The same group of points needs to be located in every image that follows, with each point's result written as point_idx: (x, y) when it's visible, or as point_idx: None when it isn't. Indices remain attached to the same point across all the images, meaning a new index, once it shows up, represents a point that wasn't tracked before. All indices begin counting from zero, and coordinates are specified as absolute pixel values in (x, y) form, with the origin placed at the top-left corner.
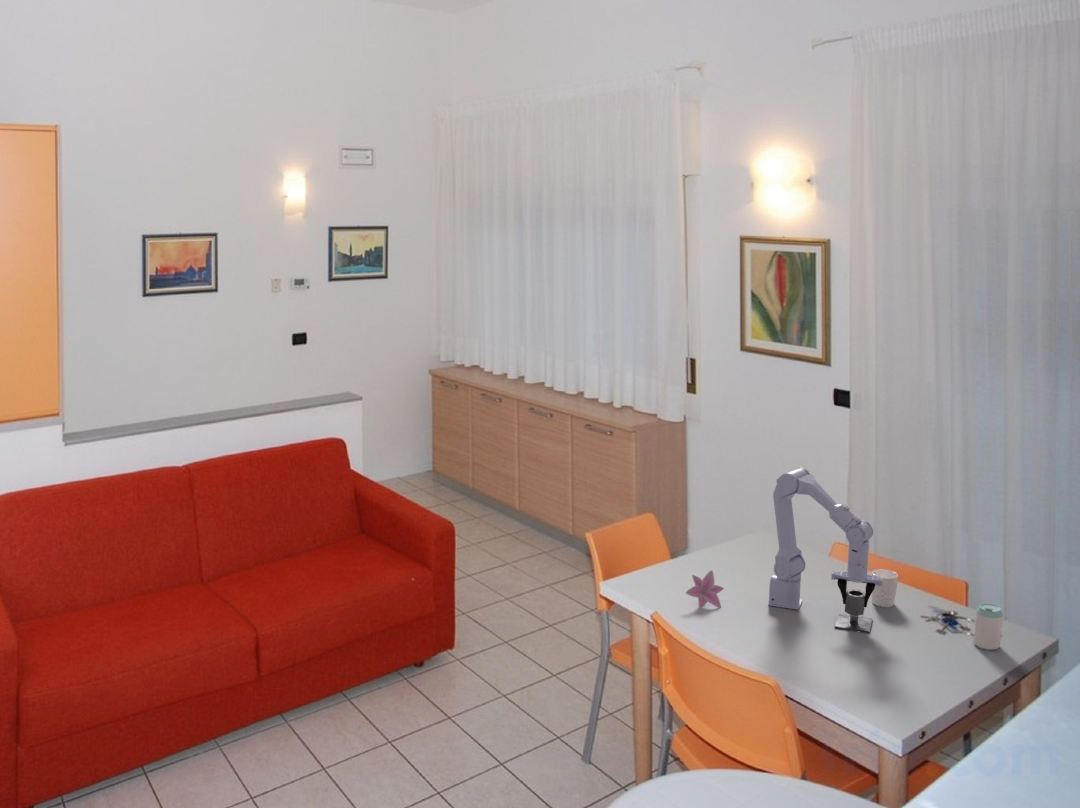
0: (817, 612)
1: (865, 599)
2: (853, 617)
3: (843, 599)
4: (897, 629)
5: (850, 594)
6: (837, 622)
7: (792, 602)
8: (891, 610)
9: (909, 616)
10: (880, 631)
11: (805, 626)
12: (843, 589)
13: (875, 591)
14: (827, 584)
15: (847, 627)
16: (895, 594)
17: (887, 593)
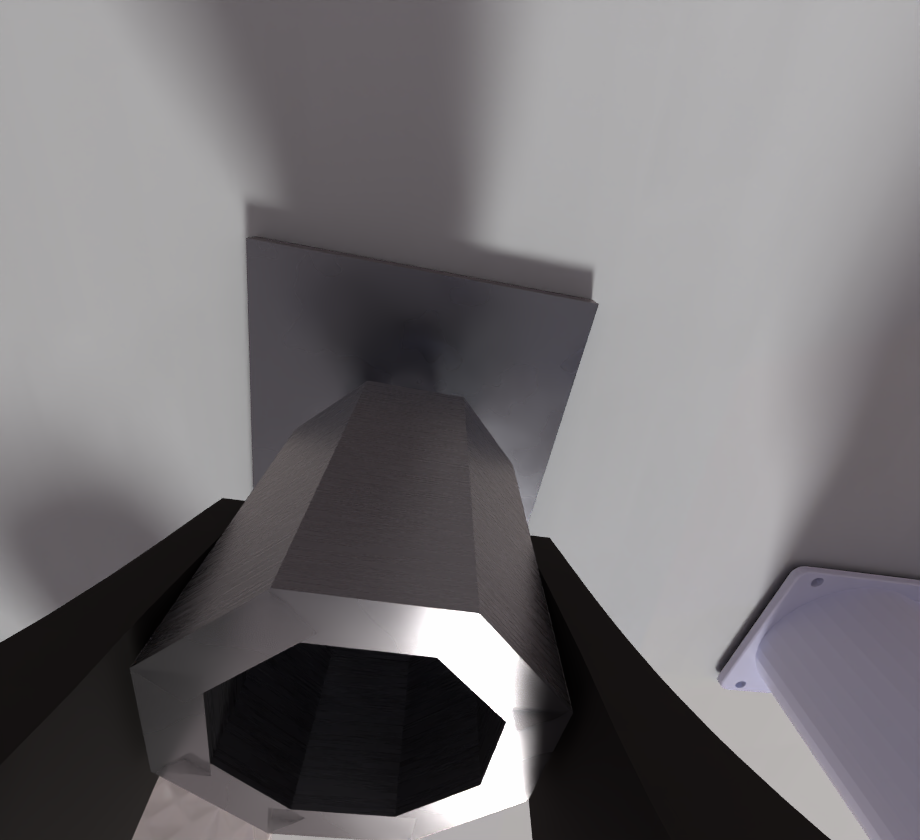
0: (660, 559)
1: (152, 588)
2: None
3: (575, 584)
4: (18, 394)
5: (482, 673)
6: (555, 396)
7: (861, 620)
8: None
9: (13, 623)
10: (156, 315)
11: (868, 279)
12: (705, 814)
13: (230, 826)
14: (519, 832)
15: (474, 299)
16: None
17: None
